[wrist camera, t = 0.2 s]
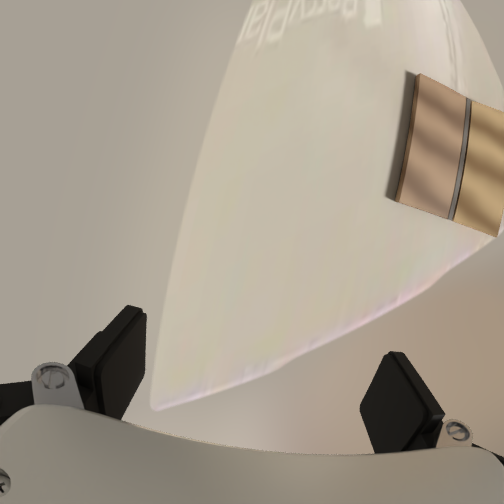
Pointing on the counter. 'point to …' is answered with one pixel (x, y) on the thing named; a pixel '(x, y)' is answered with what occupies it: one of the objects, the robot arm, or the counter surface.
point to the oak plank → (483, 172)
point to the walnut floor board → (434, 148)
